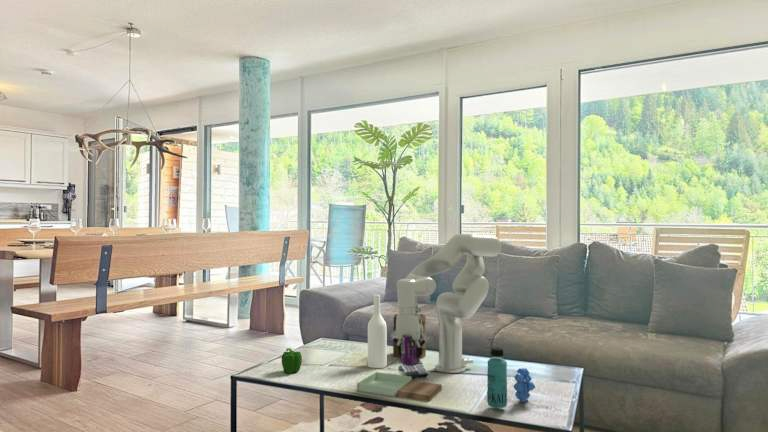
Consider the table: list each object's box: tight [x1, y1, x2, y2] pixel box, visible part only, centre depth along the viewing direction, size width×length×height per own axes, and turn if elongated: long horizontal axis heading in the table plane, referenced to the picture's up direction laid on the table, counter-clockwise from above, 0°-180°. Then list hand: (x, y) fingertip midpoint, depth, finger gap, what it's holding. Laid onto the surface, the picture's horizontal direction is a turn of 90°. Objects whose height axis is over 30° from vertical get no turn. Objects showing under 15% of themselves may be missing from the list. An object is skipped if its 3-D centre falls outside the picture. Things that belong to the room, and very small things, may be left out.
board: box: [396, 379, 443, 402], centre depth 186 cm, size 12×13×2 cm
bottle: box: [367, 294, 388, 369], centre depth 221 cm, size 8×8×30 cm
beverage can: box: [401, 335, 421, 367], centre depth 203 cm, size 7×7×12 cm
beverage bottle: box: [486, 347, 508, 409], centre depth 170 cm, size 6×7×20 cm
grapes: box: [513, 367, 536, 403], centre depth 176 cm, size 12×7×12 cm, turn 145°
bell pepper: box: [281, 347, 303, 374], centre depth 213 cm, size 8×8×10 cm
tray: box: [356, 371, 412, 398], centre depth 192 cm, size 15×15×3 cm
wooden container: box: [392, 313, 427, 360], centre depth 237 cm, size 15×15×22 cm
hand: (410, 355), depth 203 cm, fingers closed on beverage can, 6 cm apart
